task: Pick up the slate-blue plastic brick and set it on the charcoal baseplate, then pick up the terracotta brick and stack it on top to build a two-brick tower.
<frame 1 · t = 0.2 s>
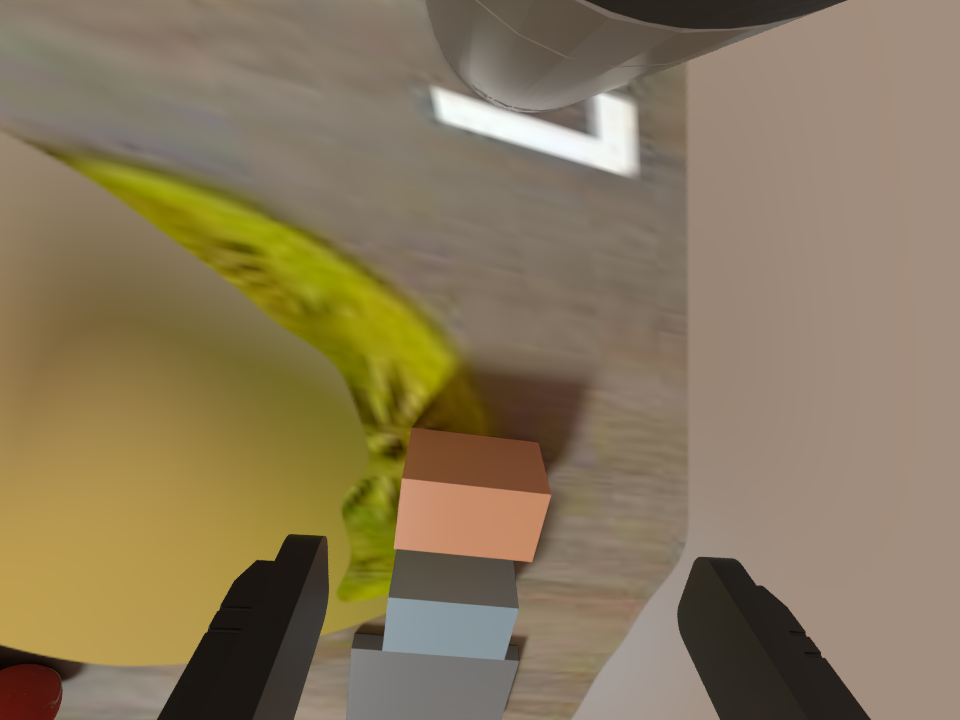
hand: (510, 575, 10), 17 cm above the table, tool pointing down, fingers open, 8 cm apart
slate brick: (451, 565, 34), on the table
terracotta brick: (469, 465, 30), on the table
baseplate: (430, 678, 39), on the table
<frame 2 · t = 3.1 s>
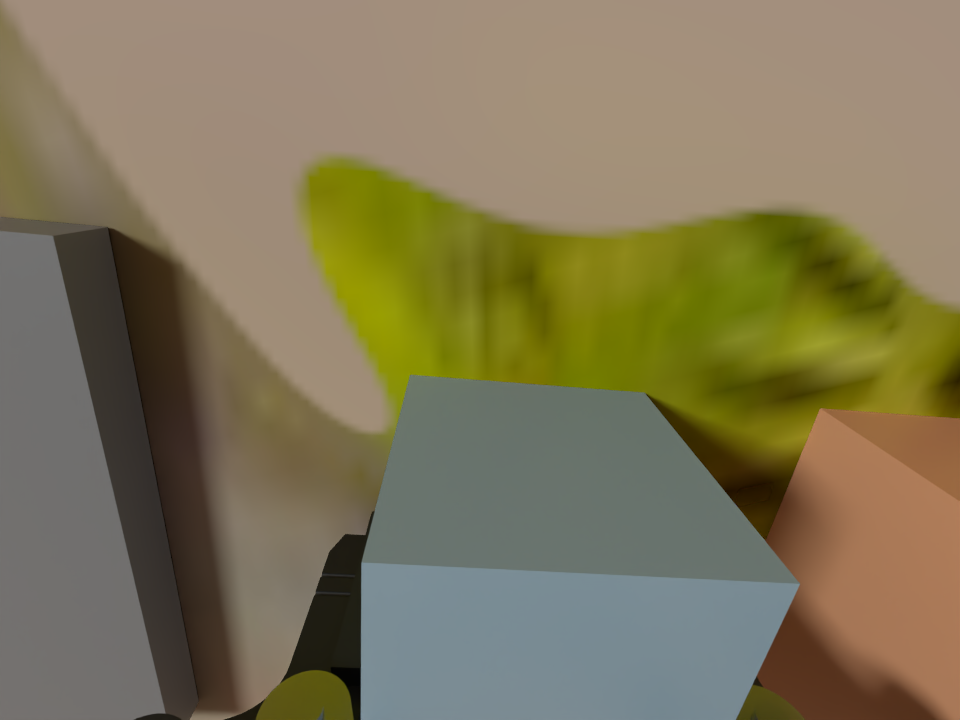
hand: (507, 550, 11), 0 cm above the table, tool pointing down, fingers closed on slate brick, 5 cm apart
slate brick: (506, 532, 11), on the table, touching gripper
terracotta brick: (851, 549, 12), on the table
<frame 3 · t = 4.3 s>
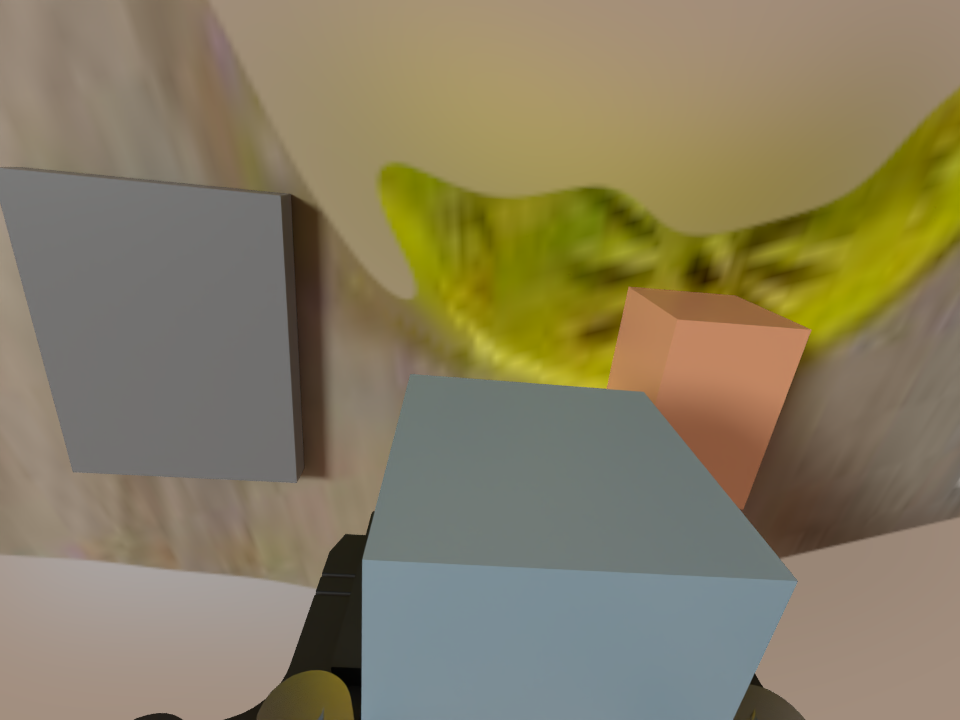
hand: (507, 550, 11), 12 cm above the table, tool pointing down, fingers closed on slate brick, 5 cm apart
slate brick: (506, 531, 11), point 11 cm above the table, touching gripper
terracotta brick: (660, 371, 23), on the table
baseplate: (181, 338, 21), on the table
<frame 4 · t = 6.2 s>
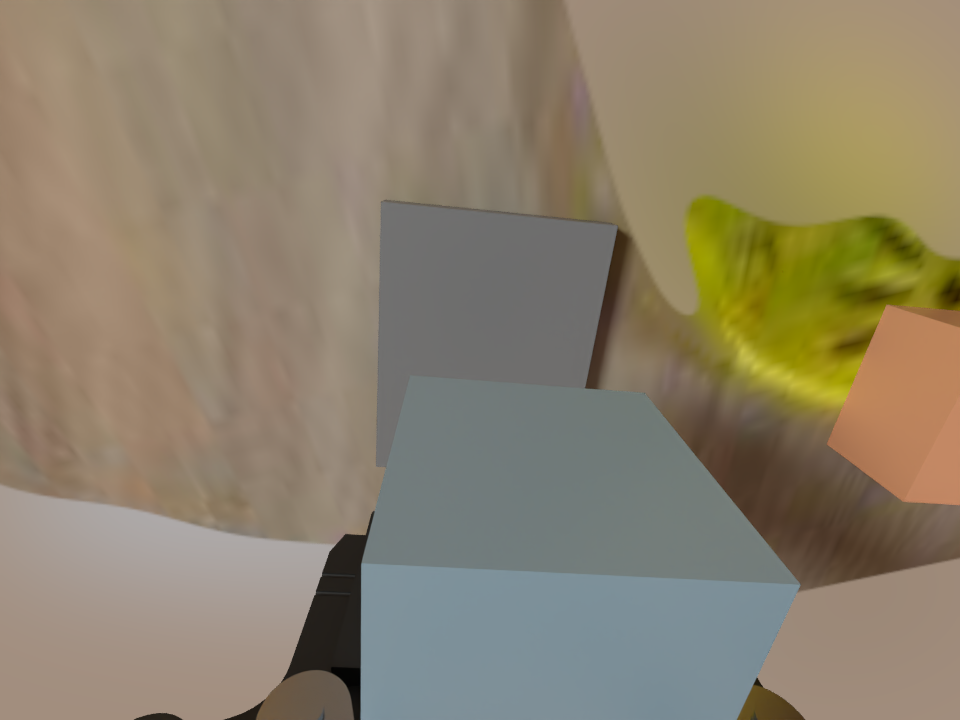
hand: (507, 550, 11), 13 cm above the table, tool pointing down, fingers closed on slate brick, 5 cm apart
slate brick: (506, 533, 11), point 13 cm above the table, touching gripper
terracotta brick: (897, 380, 25), on the table
baseplate: (484, 348, 23), on the table
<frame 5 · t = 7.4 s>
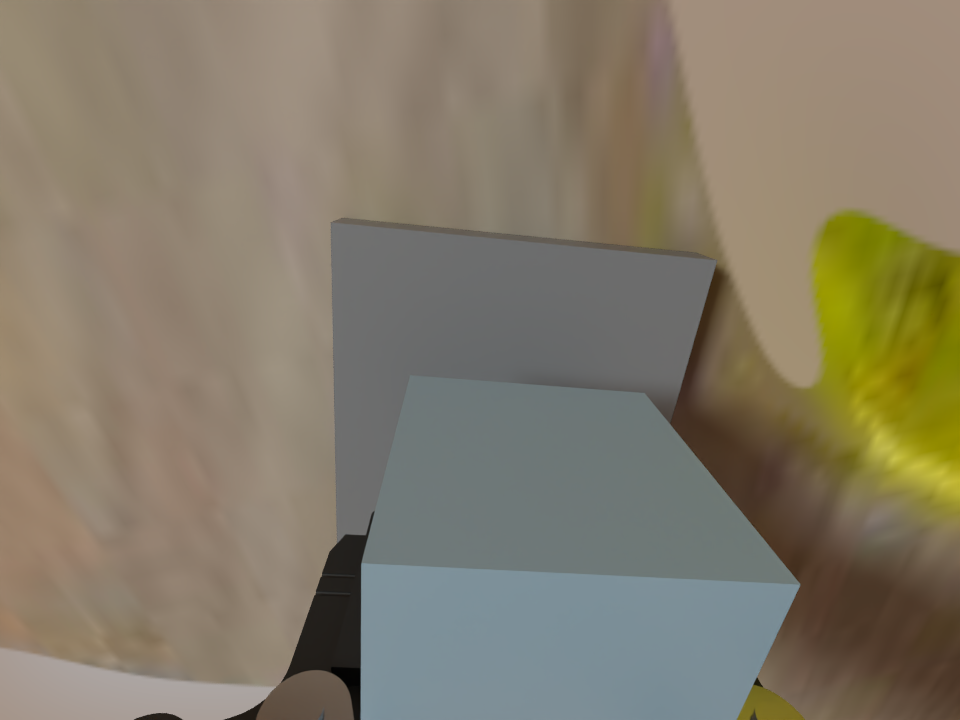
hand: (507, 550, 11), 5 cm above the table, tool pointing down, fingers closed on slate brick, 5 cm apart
slate brick: (506, 533, 11), point 4 cm above the table, touching gripper
baseplate: (497, 436, 15), on the table
when the fingers open (3 cm above the table, at t = 8.4 s): slate brick stays where it is, resting on baseplate.
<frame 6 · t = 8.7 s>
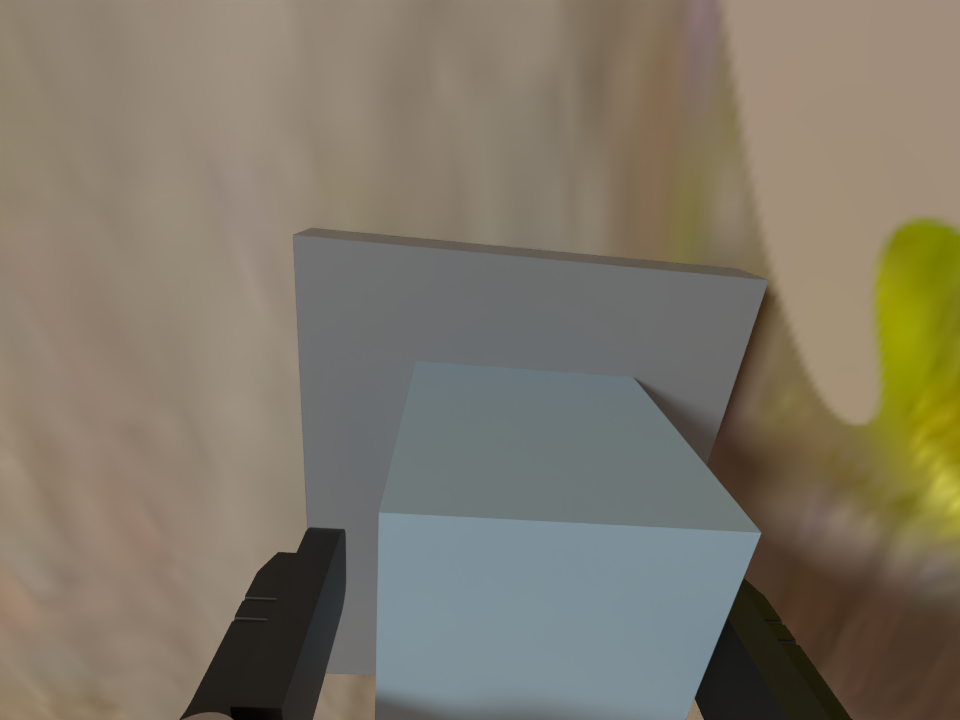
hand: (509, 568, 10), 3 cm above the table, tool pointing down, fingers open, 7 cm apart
slate brick: (506, 510, 12), point 1 cm above the table, touching baseplate
baseplate: (499, 481, 13), on the table
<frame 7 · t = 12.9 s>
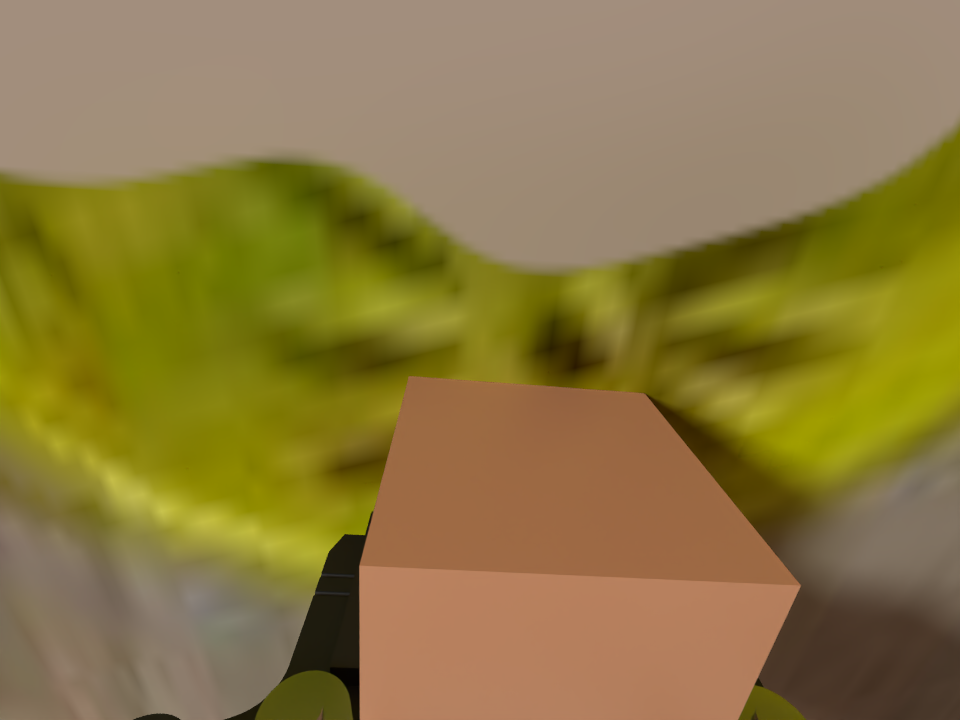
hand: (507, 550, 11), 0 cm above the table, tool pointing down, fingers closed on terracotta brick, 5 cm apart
terracotta brick: (506, 534, 11), on the table, touching gripper
when the fingers open (8 cm above the table, at t = 18.5 s): terracotta brick stays where it is, resting on slate brick.
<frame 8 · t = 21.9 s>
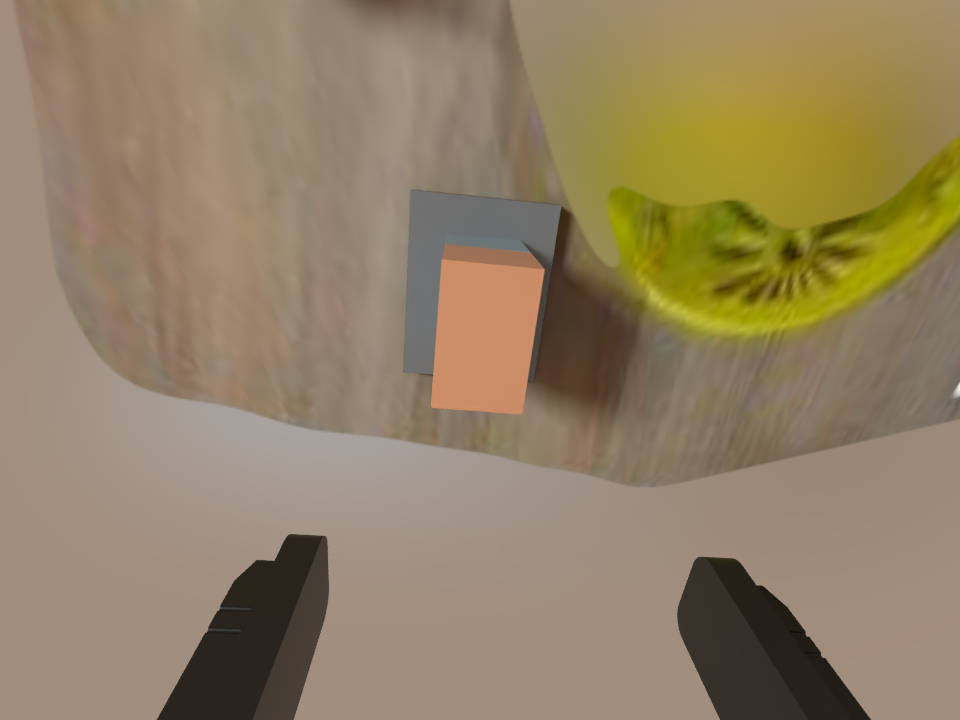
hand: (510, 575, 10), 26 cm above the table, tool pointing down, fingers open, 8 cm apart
slate brick: (478, 294, 33), point 1 cm above the table, touching baseplate, terracotta brick
terracotta brick: (481, 314, 29), point 6 cm above the table, touching slate brick
baseplate: (476, 290, 34), on the table
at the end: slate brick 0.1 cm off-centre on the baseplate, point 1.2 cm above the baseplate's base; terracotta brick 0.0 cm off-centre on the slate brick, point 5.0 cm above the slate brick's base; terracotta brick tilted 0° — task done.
